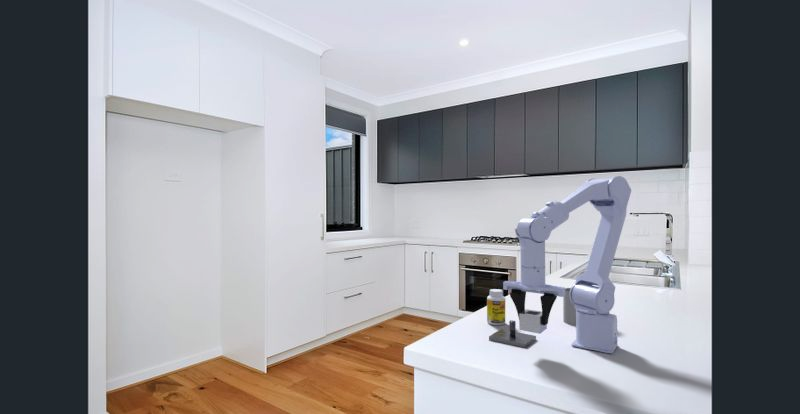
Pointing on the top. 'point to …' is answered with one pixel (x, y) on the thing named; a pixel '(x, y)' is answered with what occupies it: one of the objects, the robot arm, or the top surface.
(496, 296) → the supplement bottle
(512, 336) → the block
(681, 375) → the top surface
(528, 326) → the square hole block
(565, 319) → the cup
